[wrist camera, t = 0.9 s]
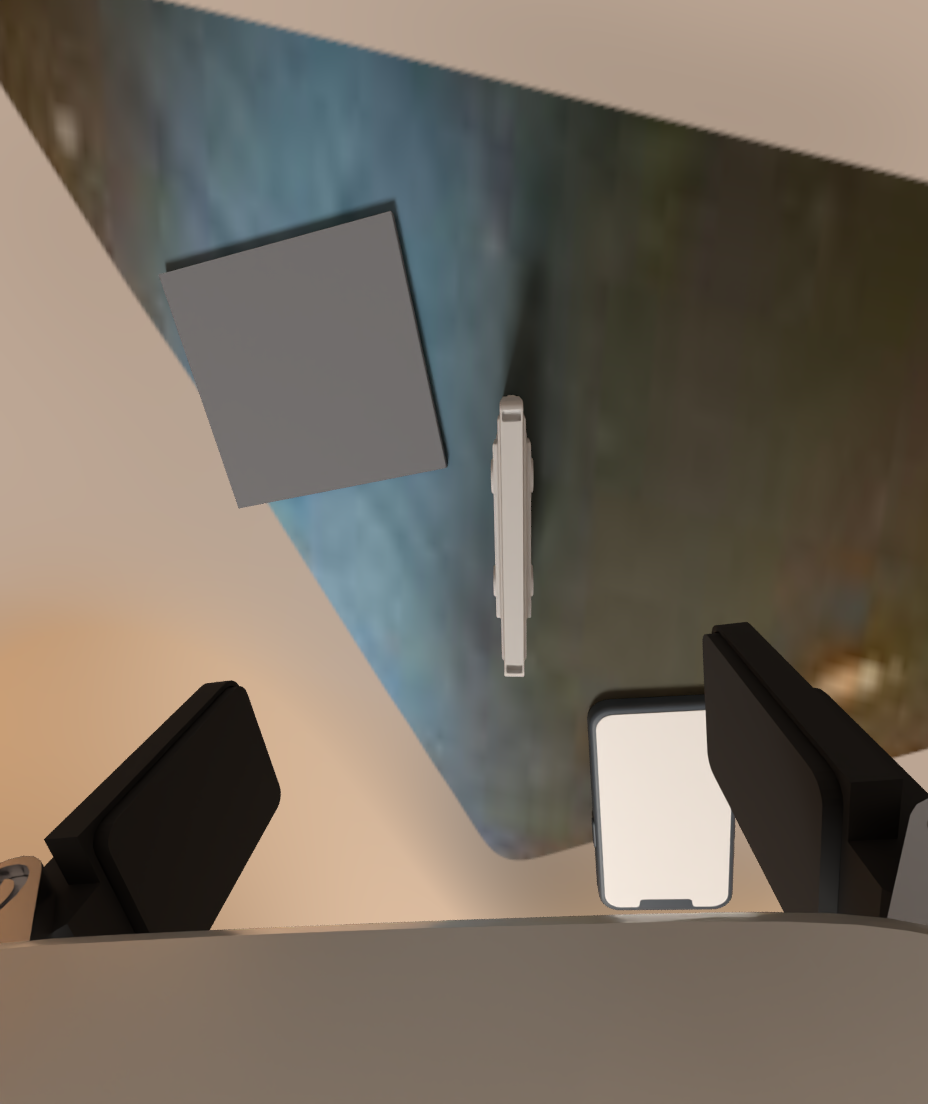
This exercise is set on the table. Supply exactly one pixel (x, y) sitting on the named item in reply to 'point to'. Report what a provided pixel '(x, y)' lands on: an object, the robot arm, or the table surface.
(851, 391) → the table surface
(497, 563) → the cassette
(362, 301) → the pad
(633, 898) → the phone case
